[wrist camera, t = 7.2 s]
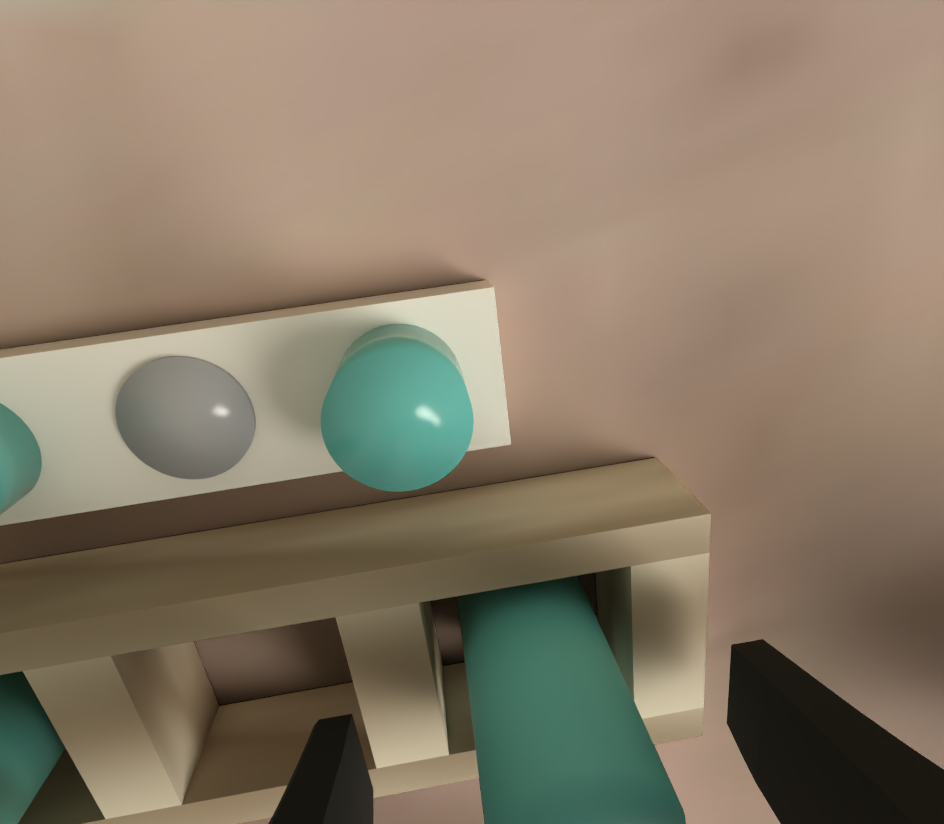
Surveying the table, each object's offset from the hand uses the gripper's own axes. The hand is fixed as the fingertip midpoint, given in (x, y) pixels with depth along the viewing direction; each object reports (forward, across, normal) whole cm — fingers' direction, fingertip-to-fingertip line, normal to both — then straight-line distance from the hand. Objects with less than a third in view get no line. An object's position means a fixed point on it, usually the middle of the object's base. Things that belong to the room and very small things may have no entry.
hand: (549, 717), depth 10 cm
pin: (+4, 0, 0) cm, 4 cm away
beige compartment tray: (+4, +6, 0) cm, 7 cm away
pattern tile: (+4, +6, -6) cm, 9 cm away
